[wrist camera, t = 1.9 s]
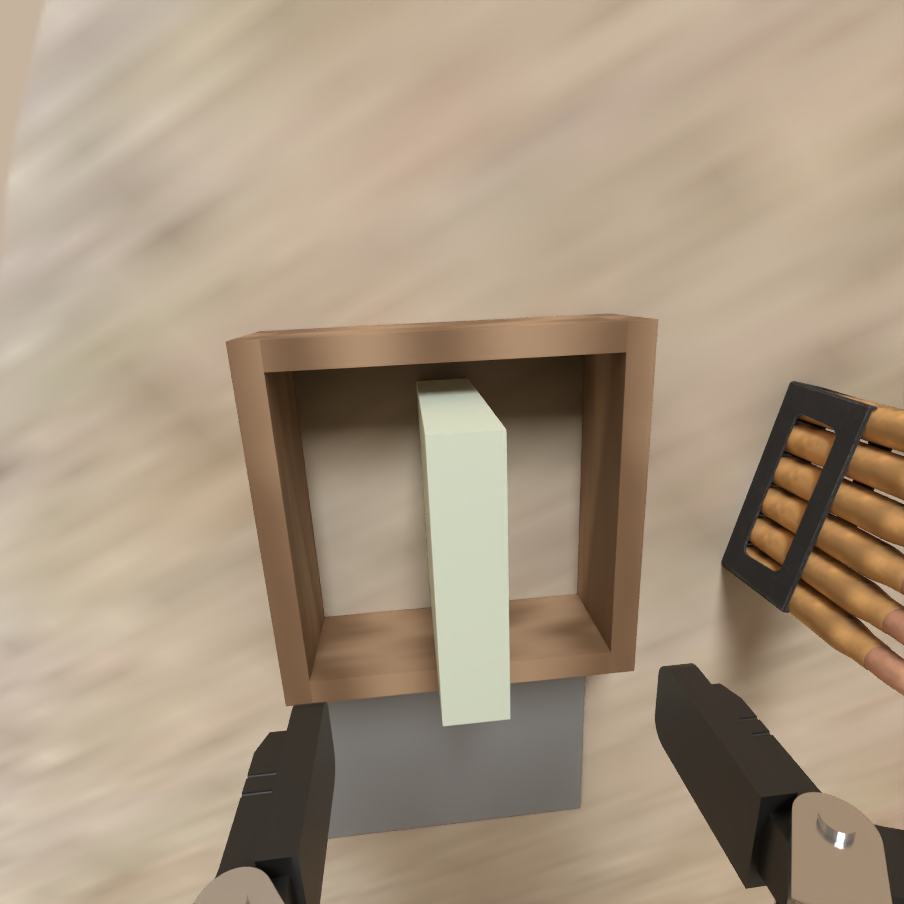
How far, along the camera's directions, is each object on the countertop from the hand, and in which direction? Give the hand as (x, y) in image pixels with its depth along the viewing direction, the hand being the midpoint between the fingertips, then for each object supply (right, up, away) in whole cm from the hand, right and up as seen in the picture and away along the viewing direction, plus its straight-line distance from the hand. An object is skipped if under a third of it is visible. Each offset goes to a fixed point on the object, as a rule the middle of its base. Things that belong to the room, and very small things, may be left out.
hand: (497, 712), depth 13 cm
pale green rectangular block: (-1, +4, +15) cm, 15 cm away
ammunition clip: (+16, +5, +16) cm, 24 cm away
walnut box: (-1, +4, +15) cm, 15 cm away
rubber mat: (-1, -11, +19) cm, 22 cm away
